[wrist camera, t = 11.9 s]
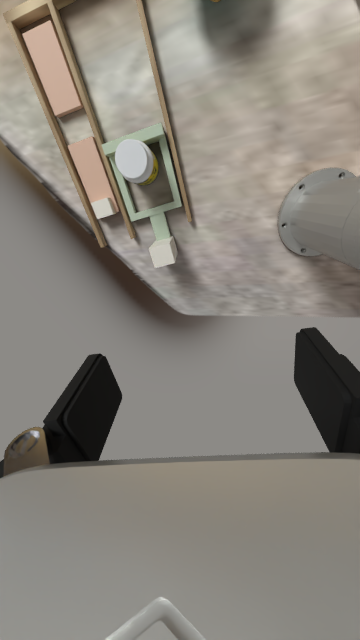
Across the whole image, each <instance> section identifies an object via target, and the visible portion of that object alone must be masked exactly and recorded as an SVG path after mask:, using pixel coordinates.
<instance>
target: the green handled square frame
mask: <svg viewBox="0 0 360 640" xmlns="http://www.w3.org/2000/svg"><path fill="white" fill-rule="evenodd" d="M126 139H135V140H139V141H142V142H143V143H145V144H146V145H150V144H153V143H155V142H158V141H159V143H160V147H161V151H162V155H163V159H164V163H165V167H166V171H167V175H168V179H169V183H170V187H171V191H172V195H173V199H174V201H173V202H170V203H167V204H164V205H160V206H157V207H154V208H151V209H147V210H144V211H141V212H138V213H136V210H135V207H134V204H133V201H132V198H131V195H130V192H129V189H128V186H127V183H126V180H125V178H124V177H123V175H122V174H121V173H120V171H119V170H118V168H117V166H116V162H115V152H116V149H117V147H118V145H119V144H120V143H121V142H122V141H124V140H126ZM102 148H103V151H104V154H105V155H106V156H108V157H109V158H110V161H111V164H112V167H113V170H114V173H115V176H116V179H117V181H118V184H119V187H120V190H121V193H122V196H123V199H124V202H125V205H126V208H127V211H128V214H129V216H130V219H131V222H132V221H135V220H138V219H142V218H145V217H148V216H149V217H150V220H151V223H152V227H153V230H154V233H155V236H156V241H155V242H154V243H153V244H152V245H151V247H150V248H149V251H150V254H151V257H152V261H153V264H154V267H155V268H158V267H162V266H165V265H169V264H173V263H175V261H176V258H177V254H178V252H177V248H176V244H175V241H174V237H173V236H171V235H170V231H169V228H168V224H167V220H166V217H165V213H164V212H165V211H168V210H171V209H175V208H178V207H181V206H182V203H181V199H180V194H179V190H178V186H177V182H176V178H175V174H174V169H173V165H172V161H171V157H170V153H169V149H168V144H167V140H166V136H165V132H164V128H163V126H162V123H158V124H155V125H153V126H150V127H147V128H145V129H142V130H139V131H137V132H134V133H131V134H129V135H126V136H123V137H121V138H118V139H115V140H113V141H110V142H107V143H105V144H102Z"/></svg>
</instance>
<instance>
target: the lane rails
mask: <svg viewBox="0 0 360 640" xmlns="http://www.w3.org/2000/svg"><path fill="white" fill-rule="evenodd" d="M75 1H77V0H28V1H26V2H24V3H22V4H20V5H18V6H17V7H15V8H13V9H11V10H9V11H7V12H5V13H3V16H4V18H5V20H6V23H7V25H8V28H9V30H10V32H11V35H12V37H13V39H14V42H15V44H16V47H17V49H18V51H19V54H20V56H21V58H22V61H23V63H24V66H25V68H26V70H27V73H28V75H29V77H30V80H31V82H32V85H33V87H34V89H35V92H36V94H37V97H38V99H39V101H40V104H41V106H42V108H43V111H44V113H45V116H46V118H47V120H48V123H49V125H50V127H51V130H52V132H53V135H54V137H55V139H56V142H57V144H58V146H59V149H60V151H61V154H62V156H63V158H64V161H65V163H66V165H67V168H68V170H69V173H70V175H71V177H72V180H73V182H74V184H75V187H76V189H77V192H78V194H79V196H80V199H81V201H82V204H83V206H84V208H85V211H86V213H87V215H88V218H89V220H90V223H91V225H92V227H93V230H94V232H95V234H96V237H97V239H98V242H99V244H100V246H101V247H105V246H106V245H107V244H106V241H105V239H104V236H103V234H102V231H101V229H100V226H99V224H98V222H97V219H96V217H95V214H94V212H93V209H92V207H91V204H90V202H89V199H88V197H87V194H86V192H85V190H84V187H83V185H82V182H81V180H80V177H79V175H78V172H77V170H76V167H75V165H74V162H73V160H72V158H71V155H70V153H69V150H68V148H67V145H66V143H65V140H64V138H63V135H62V133H61V131H60V128H59V126H58V123H57V121H56V118H55V116H54V113H53V111H52V108H51V106H50V103H49V101H48V99H47V96H46V94H45V91H44V89H43V86H42V84H41V81H40V79H39V76H38V74H37V72H36V69H35V67H34V64H33V62H32V59H31V57H30V54H29V52H28V49H27V47H26V44H25V42H24V40H23V37H22V35H21V32H20V30H19V29H21V28H23V27H25V26H27V25H29V24H31V23H33V22H35V21H37V20H39V19H41V18H43V17H45V16H47V15H49V14H51V15H52V18H53V21H54V24H55V26H56V29H57V32H58V35H59V38H60V40H61V43H62V46H63V49H64V52H65V55H66V57H67V60H68V63H69V66H70V69H71V71H72V74H73V77H74V80H75V83H76V85H77V88H78V91H79V94H80V97H81V100H82V102H83V105H84V108H85V111H86V114H87V116H88V119H89V122H90V125H91V128H92V131H93V133H94V136H95V139H96V142H97V145H98V147H99V150H100V153H101V156H102V159H103V161H104V164H105V167H106V170H107V173H108V176H109V178H110V181H111V184H112V187H113V190H114V192H115V195H116V198H117V201H118V204H119V207H120V209H121V212H122V215H123V218H124V221H125V223H126V226H127V229H128V232H129V235H130V237H131V239H133V238H135V237H136V234H135V231H134V229H133V226H132V223H131V220H130V217H129V214H128V211H127V208H126V205H125V202H124V199H123V197H122V194H121V191H120V188H119V185H118V182H117V179H116V176H115V173H114V170H113V167H112V165H111V162H110V159H109V157H108V156H106V155H105V154H104V151H103V148H102V144H104V141H103V138H102V135H101V132H100V130H99V127H98V124H97V121H96V118H95V115H94V112H93V109H92V106H91V103H90V100H89V98H88V95H87V92H86V89H85V86H84V83H83V80H82V77H81V74H80V71H79V68H78V66H77V63H76V60H75V57H74V54H73V51H72V48H71V45H70V42H69V39H68V36H67V33H66V31H65V28H64V25H63V22H62V19H61V16H60V13H59V9H61V8H63V7H65V6H67V5H69V4H71V3H73V2H75ZM136 3H137V7H138V11H139V15H140V20H141V24H142V28H143V32H144V37H145V41H146V45H147V49H148V54H149V58H150V62H151V66H152V71H153V75H154V79H155V83H156V87H157V92H158V96H159V100H160V104H161V109H162V113H163V117H164V121H165V126H166V130H167V134H168V138H169V143H170V147H171V151H172V155H173V159H174V164H175V168H176V172H177V176H178V181H179V185H180V189H181V193H182V198H183V202H184V206H185V210H186V215H187V219H188V222H191V221H192V218H191V214H190V209H189V205H188V201H187V196H186V192H185V188H184V183H183V179H182V174H181V170H180V166H179V161H178V157H177V153H176V148H175V144H174V139H173V135H172V131H171V126H170V122H169V118H168V113H167V109H166V104H165V100H164V96H163V91H162V87H161V83H160V78H159V74H158V69H157V65H156V61H155V56H154V52H153V48H152V43H151V39H150V34H149V30H148V26H147V21H146V17H145V13H144V8H143V4H142V0H136Z"/></svg>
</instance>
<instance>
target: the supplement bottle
mask: <svg viewBox="0 0 360 640" xmlns="http://www.w3.org/2000/svg"><path fill="white" fill-rule="evenodd" d="M115 162H116V166H117V168H118V170H119V171H120V173H121V174H122V175H123V177H124V178H125V179H126V180H128V181H129V182H132V183H135V184H139V185H149V184H151V183H152V182H153V181H154V180H155V179H156V177H157V175H158V171H159V165H158V161H157V158H156V156H155V155H154V153H153V152H152V151H151V150H150V149H149V147H148V146H147V145H146V144H145V143H143V142H142V141H139V140H135V139H126V140H124V141H122V142H121V143H120V144H119V145H118V147H117V149H116V152H115Z"/></svg>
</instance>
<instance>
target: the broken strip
mask: <svg viewBox="0 0 360 640" xmlns="http://www.w3.org/2000/svg"><path fill="white" fill-rule="evenodd" d="M22 35H23V38H24V40H25V42H26V45H27V47H28V50H29V52H30V55H31V57H32V60H33V62H34V65H35V67H36V70H37V72H38V75H39V77H40V79H41V82H42V84H43V87H44V89H45V92H46V94H47V97H48V99H49V102H50V104H51V107H52V109H53V112H54V114H55V116H57V117H58V118H60V117H62V116H65V115H67V114H70V113H72V112H74V111H77V110H79V109H82V108H84V106H83V104H82V101H81V98H80V95H79V92H78V90H77V87H76V84H75V81H74V78H73V76H72V73H71V70H70V67H69V64H68V62H67V59H66V56H65V53H64V50H63V47H62V45H61V42H60V39H59V36H58V33H57V31H56V28H55V25H54V24H53V23H52V22H51V20H49V21H47V22H45V23H43V24H41V25H39V26H37V27H35V28H33V29H31V30H29V31H27V32H25V33H23V34H22ZM68 149H69V151H70V153H71V156H72V158H73V161H74V163H75V166H76V168H77V171H78V173H79V176H80V178H81V181H82V183H83V186H84V188H85V190H86V193H87V195H88V198H89V200H90V203H91V205H92V208H93V210H94V213H95V215H96V218H97V219H100V218H104V217H107V216H110V215H113V214H116V212H119V211H121V210H120V208H119V205H118V202H117V199H116V196H115V194H114V191H113V188H112V185H111V182H110V180H109V177H108V174H107V171H106V168H105V165H104V163H103V160H102V157H101V154H100V151H99V149H98V146H97V143H96V140H95V138H94V137H89V138H87V139H84V140H81V141H79V142H76V143H74V144H71V145H68Z"/></svg>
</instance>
